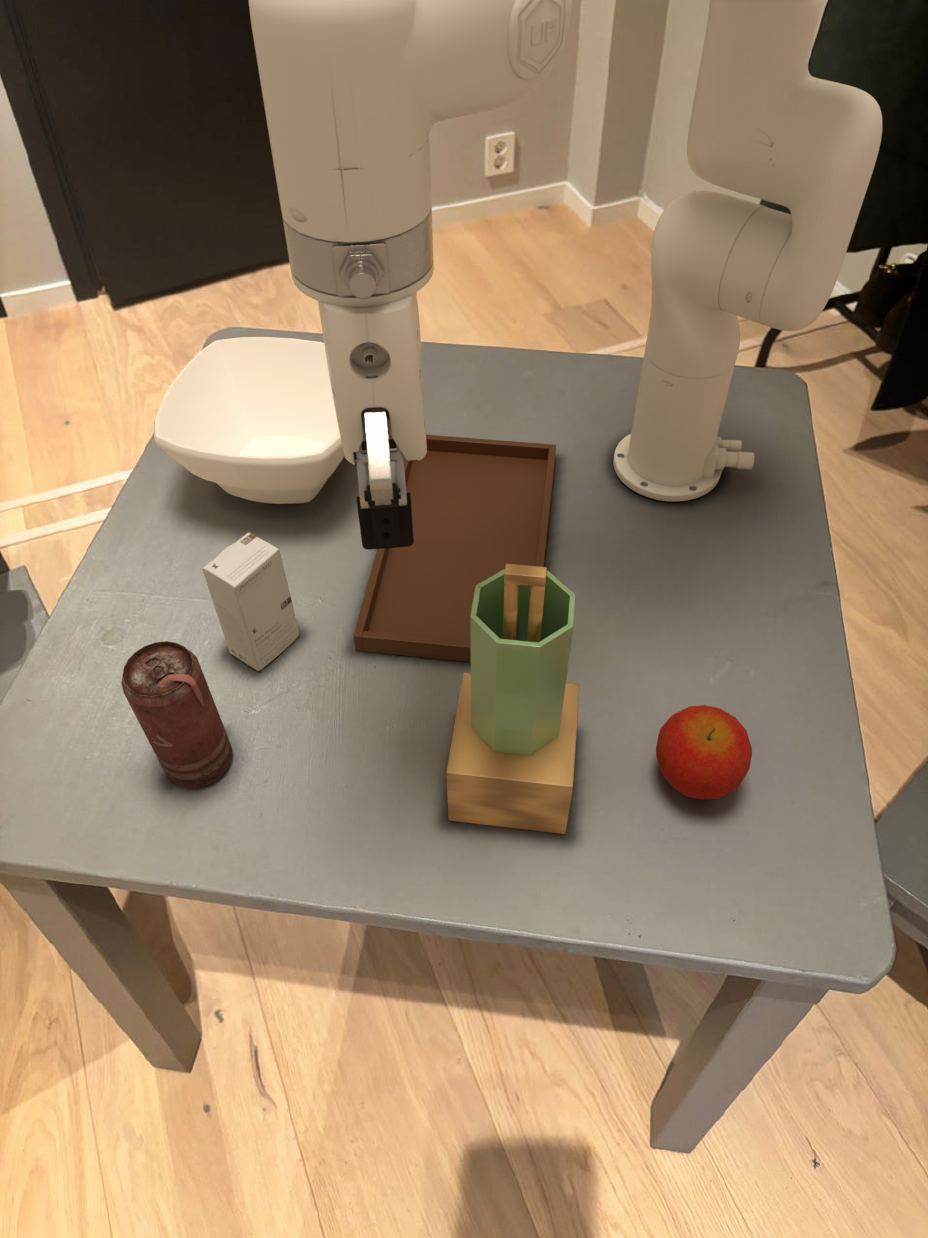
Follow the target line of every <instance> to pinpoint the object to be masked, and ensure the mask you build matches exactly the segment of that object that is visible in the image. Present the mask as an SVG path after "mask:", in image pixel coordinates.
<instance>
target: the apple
mask: <svg viewBox="0 0 928 1238" xmlns="http://www.w3.org/2000/svg"><path fill="white" fill-rule="evenodd" d="M655 755H656V759H657V763H658V766H659V769H660V772H661V775H662V776H663V778H665V780H666V781H667V783H668V784H670V785H671V787H672V788H673V789H674V790H676V791H677V792H678V793H680V794H682V795H684V796H685V797H689V798H693V799H697V800H717V799H720V798H722V797H724V796H727V795H728V794H730V793H731V792H734V791H735V790H736V789H738V788H739V787H740V785H741V784H742V783H743V781H744V779H745V778H746V776H747V775H748V773H749V771H750V768H751V762H752V758H753V748H752V744H751V741H750V737H749V734H748V731H747V729H746V728H745V726H744V725H743V724H742V723H741V722H740V721H739V720H738V718H737V717H736V716H734V715H732V714H731V713H730V712H727V711H726V710H724V709H722V708H719V707H715V706H710V705H707V704H702V705H701V704H700V705H690V706H687V707H685V708H683V709H681V710H679V711H677V712H675V713H674V714H672V715H671V716H670V717H669V718H668V719H667V720H666V721H665V723H664V724H663V725H662V727H660V729H659V732H658V735H657V740H656V745H655Z"/></svg>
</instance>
